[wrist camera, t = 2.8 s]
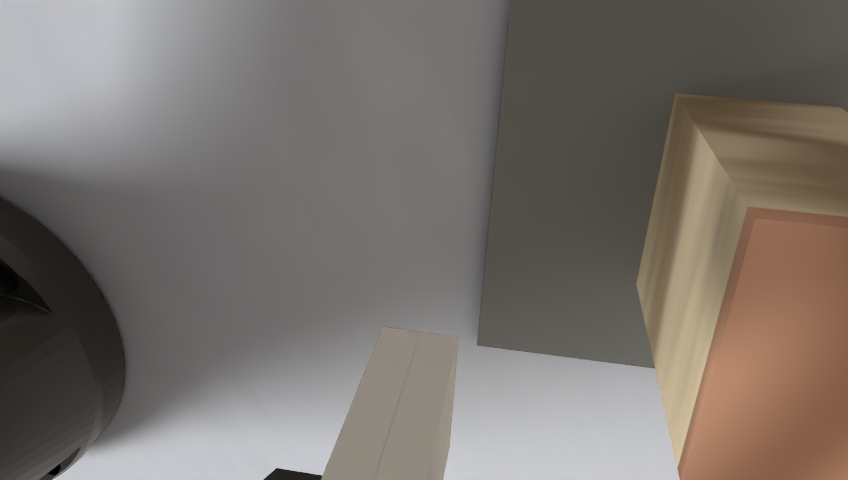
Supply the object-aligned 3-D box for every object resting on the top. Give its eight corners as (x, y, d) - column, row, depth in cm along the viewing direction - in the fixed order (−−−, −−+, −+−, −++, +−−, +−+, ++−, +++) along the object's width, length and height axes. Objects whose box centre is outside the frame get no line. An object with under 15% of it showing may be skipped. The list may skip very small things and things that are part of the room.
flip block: (636, 284, 26) (681, 486, 17) (675, 93, 23) (755, 218, 14) (780, 301, 25) (905, 519, 17) (840, 107, 22) (1033, 247, 13)
